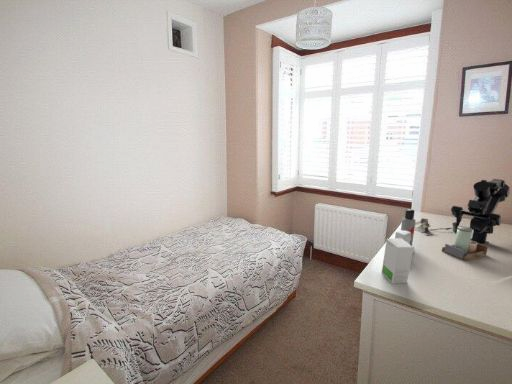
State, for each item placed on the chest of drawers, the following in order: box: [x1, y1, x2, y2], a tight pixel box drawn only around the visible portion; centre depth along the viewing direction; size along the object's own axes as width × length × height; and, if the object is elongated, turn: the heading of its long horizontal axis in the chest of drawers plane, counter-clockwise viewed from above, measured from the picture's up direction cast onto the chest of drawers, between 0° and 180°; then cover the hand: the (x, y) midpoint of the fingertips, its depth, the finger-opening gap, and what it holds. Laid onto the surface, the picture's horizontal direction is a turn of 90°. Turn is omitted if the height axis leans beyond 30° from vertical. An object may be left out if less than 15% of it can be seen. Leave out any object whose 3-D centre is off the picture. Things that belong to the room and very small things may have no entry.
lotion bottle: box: [400, 208, 417, 247], centre depth 135 cm, size 6×6×20 cm
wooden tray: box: [441, 243, 489, 262], centre depth 129 cm, size 15×11×5 cm
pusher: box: [443, 243, 465, 260], centre depth 127 cm, size 1×8×4 cm, turn 22°
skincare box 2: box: [381, 237, 414, 285], centre depth 108 cm, size 8×7×16 cm
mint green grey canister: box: [453, 225, 474, 256], centre depth 127 cm, size 6×6×13 cm
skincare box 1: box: [394, 229, 411, 244], centre depth 126 cm, size 6×4×12 cm
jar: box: [468, 240, 478, 254], centre depth 131 cm, size 5×5×5 cm
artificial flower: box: [414, 217, 458, 234], centre depth 157 cm, size 9×22×10 cm, turn 72°
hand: (468, 229), depth 129 cm, fingers open, 9 cm apart
